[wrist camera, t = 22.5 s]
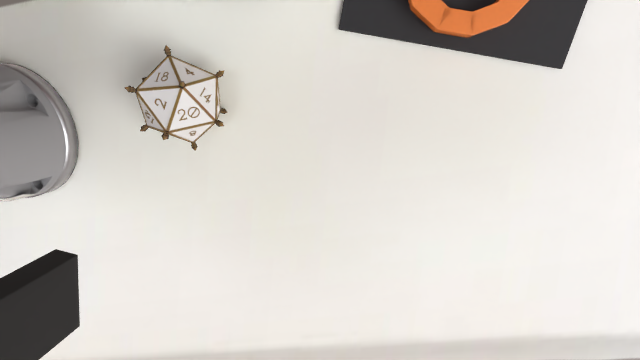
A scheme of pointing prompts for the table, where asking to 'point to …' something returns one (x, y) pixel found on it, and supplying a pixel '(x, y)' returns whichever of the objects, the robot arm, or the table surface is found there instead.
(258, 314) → the table surface
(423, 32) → the mat
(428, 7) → the ring
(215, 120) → the game die
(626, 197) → the table surface
